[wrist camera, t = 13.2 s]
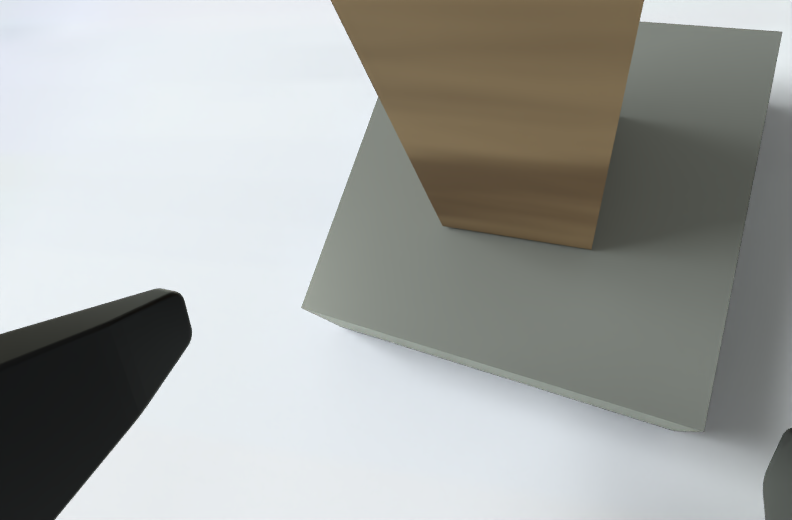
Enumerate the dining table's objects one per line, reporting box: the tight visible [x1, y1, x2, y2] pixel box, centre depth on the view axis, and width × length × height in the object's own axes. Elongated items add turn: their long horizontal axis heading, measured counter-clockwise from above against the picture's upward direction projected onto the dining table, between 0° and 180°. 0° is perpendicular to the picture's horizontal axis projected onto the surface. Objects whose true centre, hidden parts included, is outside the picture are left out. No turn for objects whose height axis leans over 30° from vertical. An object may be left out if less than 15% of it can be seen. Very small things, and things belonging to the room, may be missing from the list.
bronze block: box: [331, 0, 644, 250], centre depth 12 cm, size 4×4×10 cm
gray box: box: [301, 22, 782, 432], centre depth 19 cm, size 12×12×4 cm
